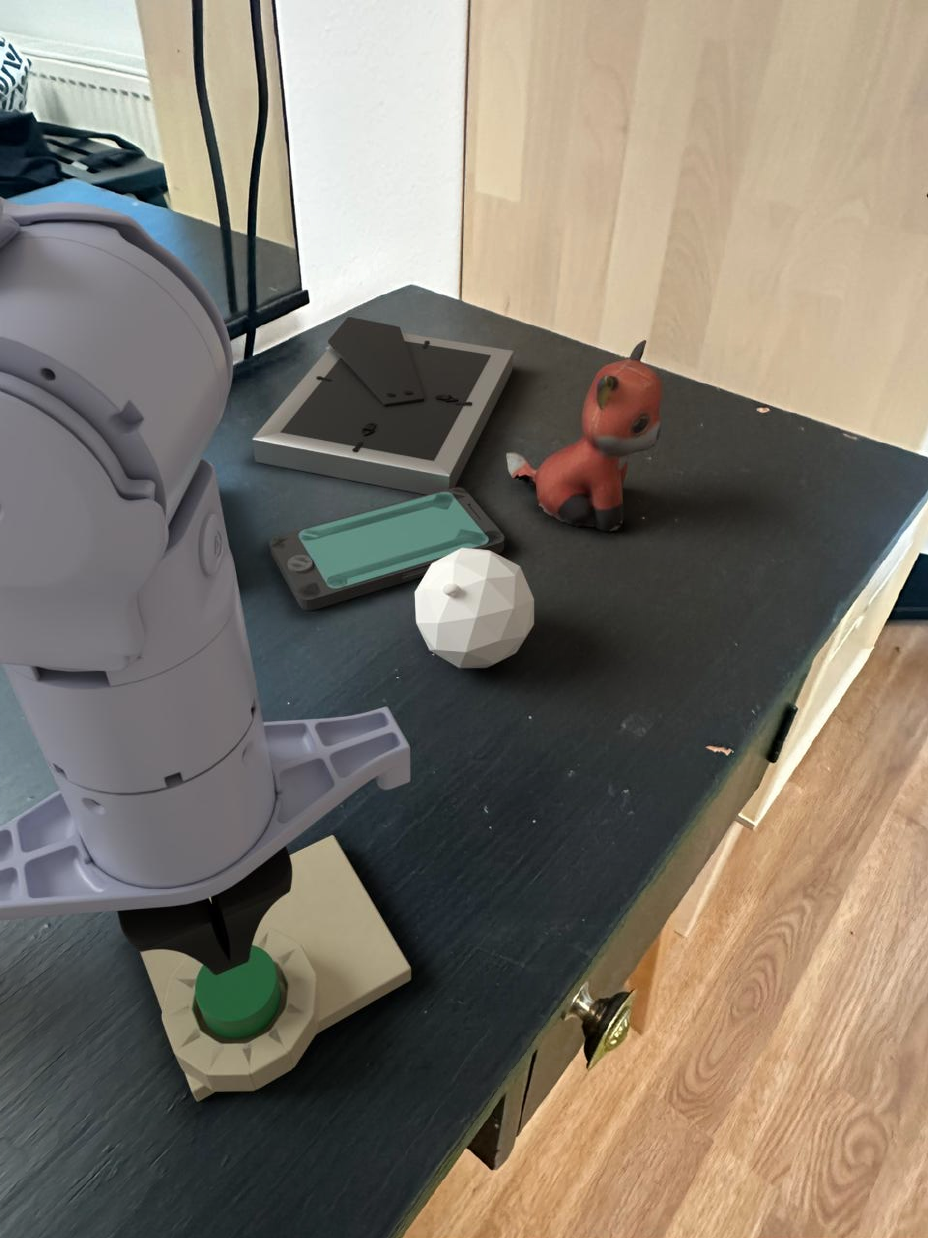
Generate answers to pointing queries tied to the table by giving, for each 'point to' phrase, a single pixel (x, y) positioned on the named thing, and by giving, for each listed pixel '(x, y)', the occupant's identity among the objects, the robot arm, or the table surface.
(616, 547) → the table surface
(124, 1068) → the table surface
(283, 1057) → the box
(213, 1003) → the release button
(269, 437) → the picture frame
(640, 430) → the stuffed fox
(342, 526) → the smartphone
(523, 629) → the ornament
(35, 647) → the robot arm
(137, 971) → the table surface
